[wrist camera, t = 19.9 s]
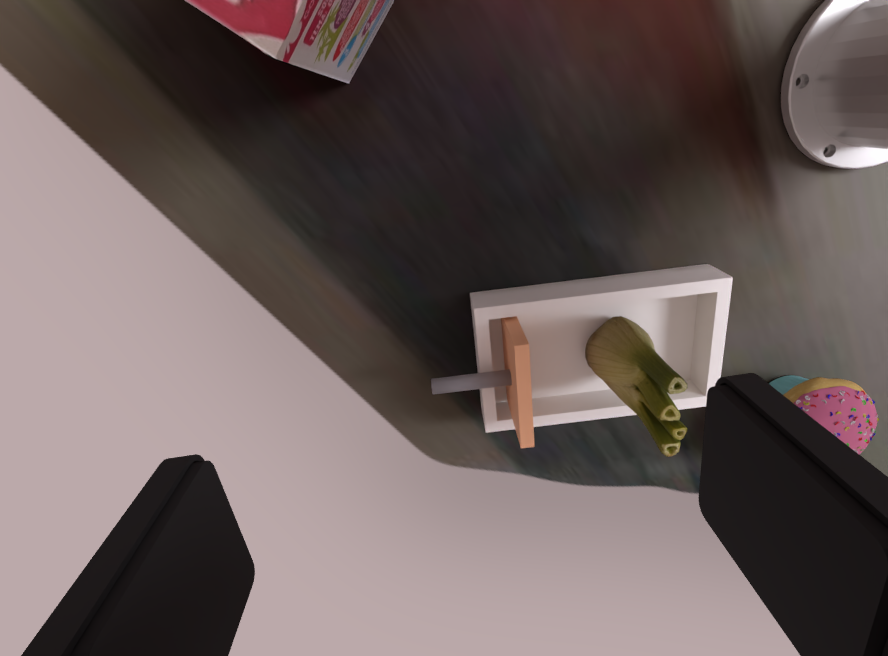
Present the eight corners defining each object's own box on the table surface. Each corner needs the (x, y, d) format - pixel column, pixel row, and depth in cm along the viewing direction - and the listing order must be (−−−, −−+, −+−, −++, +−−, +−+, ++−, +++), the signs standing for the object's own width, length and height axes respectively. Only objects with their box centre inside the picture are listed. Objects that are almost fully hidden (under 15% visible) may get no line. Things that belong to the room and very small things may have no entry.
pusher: (512, 308, 40) (529, 344, 34) (518, 399, 43) (534, 446, 37) (424, 318, 40) (424, 356, 34) (437, 408, 43) (439, 458, 37)
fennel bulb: (602, 300, 40) (670, 373, 29) (655, 320, 41) (741, 398, 30) (569, 361, 42) (621, 451, 31) (620, 379, 43) (688, 472, 32)
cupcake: (788, 447, 48) (898, 549, 37) (715, 419, 46) (807, 517, 35) (850, 373, 45) (990, 460, 34) (774, 340, 43) (895, 420, 32)
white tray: (707, 263, 40) (732, 277, 37) (695, 383, 44) (717, 405, 41) (469, 292, 40) (473, 308, 37) (481, 409, 44) (485, 432, 41)
